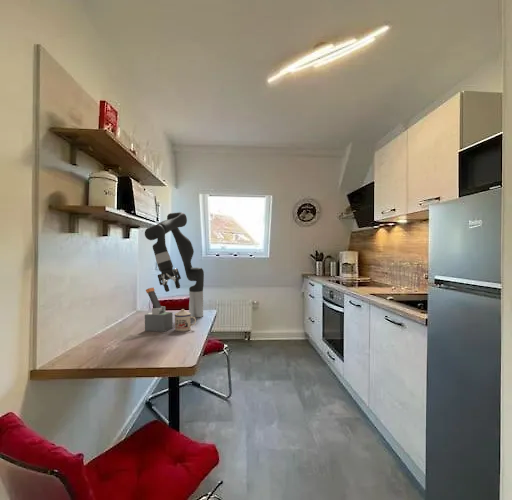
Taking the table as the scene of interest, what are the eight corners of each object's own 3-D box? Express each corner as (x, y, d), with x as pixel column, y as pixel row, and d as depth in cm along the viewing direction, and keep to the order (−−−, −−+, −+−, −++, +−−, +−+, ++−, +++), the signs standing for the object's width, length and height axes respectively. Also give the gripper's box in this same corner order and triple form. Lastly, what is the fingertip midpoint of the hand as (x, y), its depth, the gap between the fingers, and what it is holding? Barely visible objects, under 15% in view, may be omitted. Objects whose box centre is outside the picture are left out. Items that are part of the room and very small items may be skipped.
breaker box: (144, 330, 202) (144, 308, 202) (154, 327, 211) (153, 305, 211) (164, 331, 199) (163, 309, 199) (172, 327, 208) (172, 306, 208)
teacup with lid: (173, 331, 198) (172, 310, 198) (176, 328, 207) (176, 308, 207) (194, 331, 198) (194, 310, 198) (197, 327, 207) (197, 307, 208)
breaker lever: (155, 313, 203) (145, 290, 204) (160, 312, 208) (150, 289, 209) (158, 312, 202) (148, 288, 204) (163, 310, 207) (153, 287, 209)
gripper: (177, 256, 193) (186, 285, 192) (160, 263, 200) (169, 290, 200) (167, 259, 186) (177, 288, 186) (150, 265, 194) (159, 294, 194)
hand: (173, 289), depth 193 cm, fingers open, 8 cm apart
